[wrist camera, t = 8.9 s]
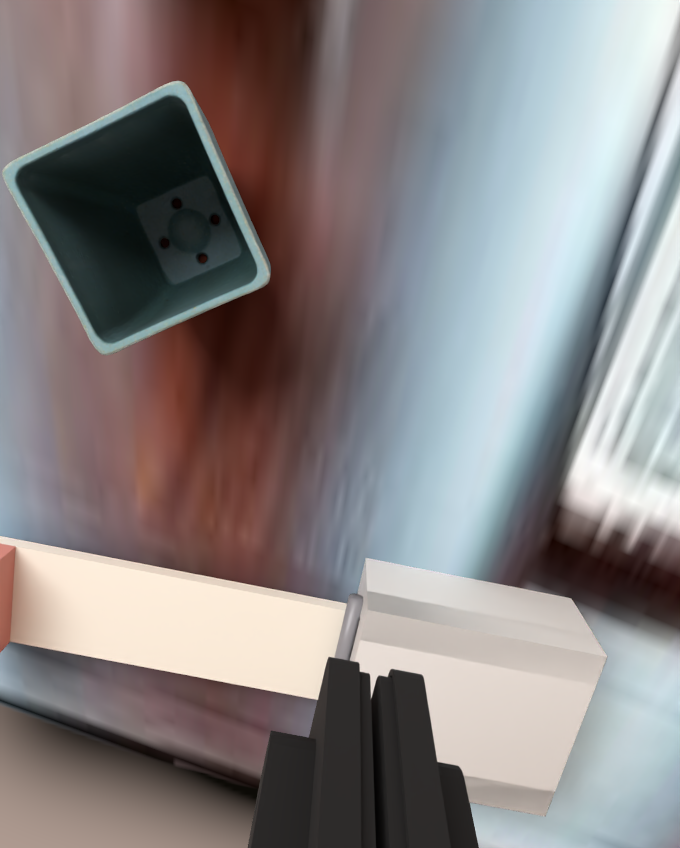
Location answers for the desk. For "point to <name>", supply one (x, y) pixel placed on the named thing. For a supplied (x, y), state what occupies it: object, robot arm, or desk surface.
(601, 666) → the block
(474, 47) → the desk surface
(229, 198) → the flower pot
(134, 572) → the long cream plank
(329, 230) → the desk surface
